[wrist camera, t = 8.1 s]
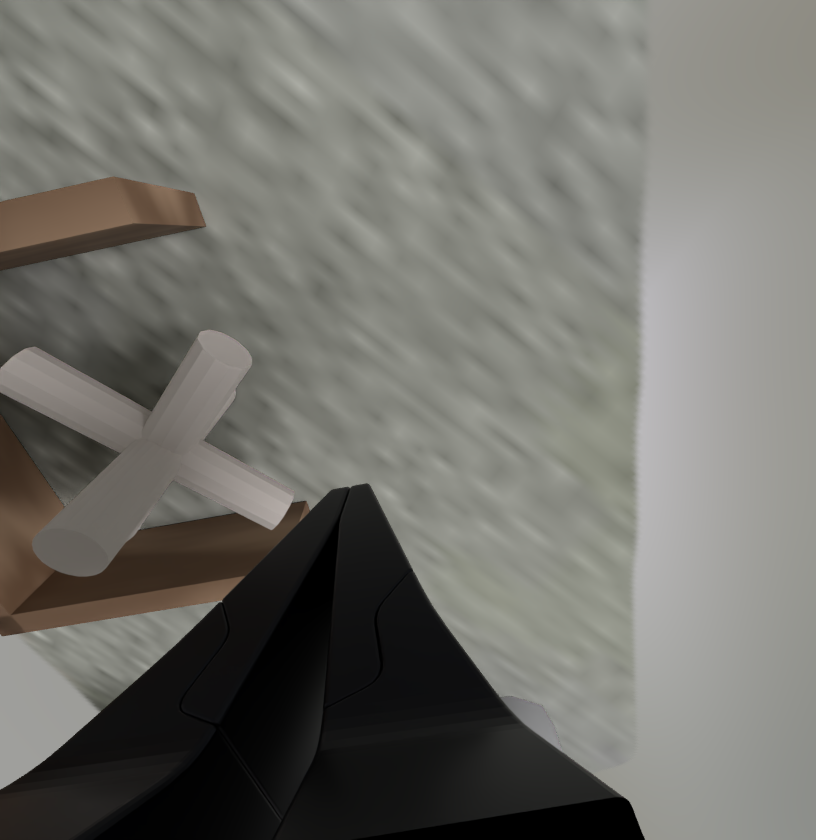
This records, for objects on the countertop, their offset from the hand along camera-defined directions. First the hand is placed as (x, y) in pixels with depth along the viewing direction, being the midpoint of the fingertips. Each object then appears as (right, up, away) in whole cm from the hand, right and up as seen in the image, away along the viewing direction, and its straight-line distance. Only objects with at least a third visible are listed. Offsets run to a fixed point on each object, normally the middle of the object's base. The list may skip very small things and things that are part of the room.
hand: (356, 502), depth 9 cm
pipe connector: (-8, +3, +11) cm, 14 cm away
